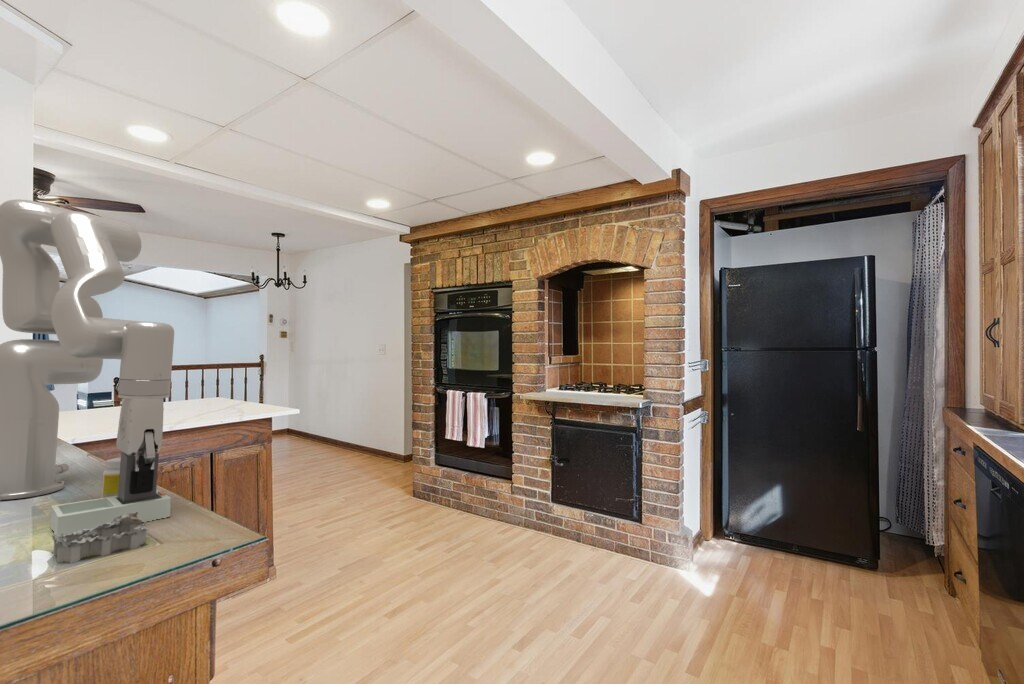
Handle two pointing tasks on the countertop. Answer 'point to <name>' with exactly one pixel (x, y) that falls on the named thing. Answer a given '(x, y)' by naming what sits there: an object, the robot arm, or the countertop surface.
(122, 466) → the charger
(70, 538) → the egg carton
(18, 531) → the countertop surface
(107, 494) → the supplement bottle
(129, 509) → the power strip
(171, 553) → the countertop surface
